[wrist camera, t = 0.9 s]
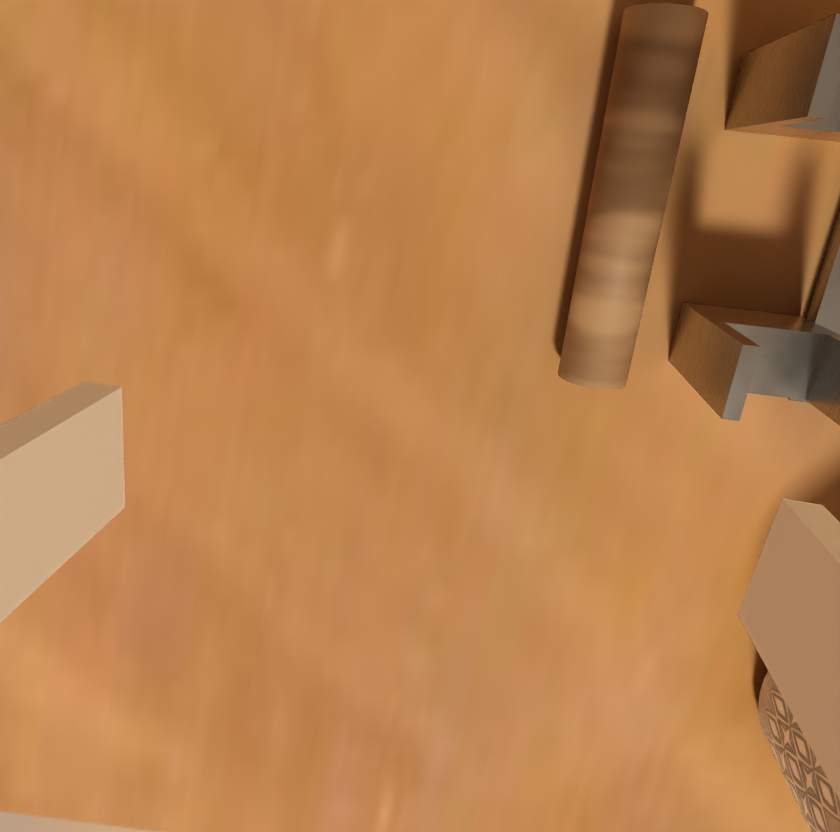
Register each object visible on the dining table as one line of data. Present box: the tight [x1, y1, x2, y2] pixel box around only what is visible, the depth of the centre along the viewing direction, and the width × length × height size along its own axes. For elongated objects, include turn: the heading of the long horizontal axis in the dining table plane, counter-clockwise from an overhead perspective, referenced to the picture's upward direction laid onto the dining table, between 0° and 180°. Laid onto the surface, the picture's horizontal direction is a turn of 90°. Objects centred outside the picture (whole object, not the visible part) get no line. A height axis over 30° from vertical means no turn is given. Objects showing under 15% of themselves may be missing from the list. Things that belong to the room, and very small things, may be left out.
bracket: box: [669, 13, 840, 425], centre depth 33 cm, size 19×9×10 cm, turn 174°
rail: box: [558, 3, 708, 390], centre depth 36 cm, size 19×4×4 cm, turn 174°
